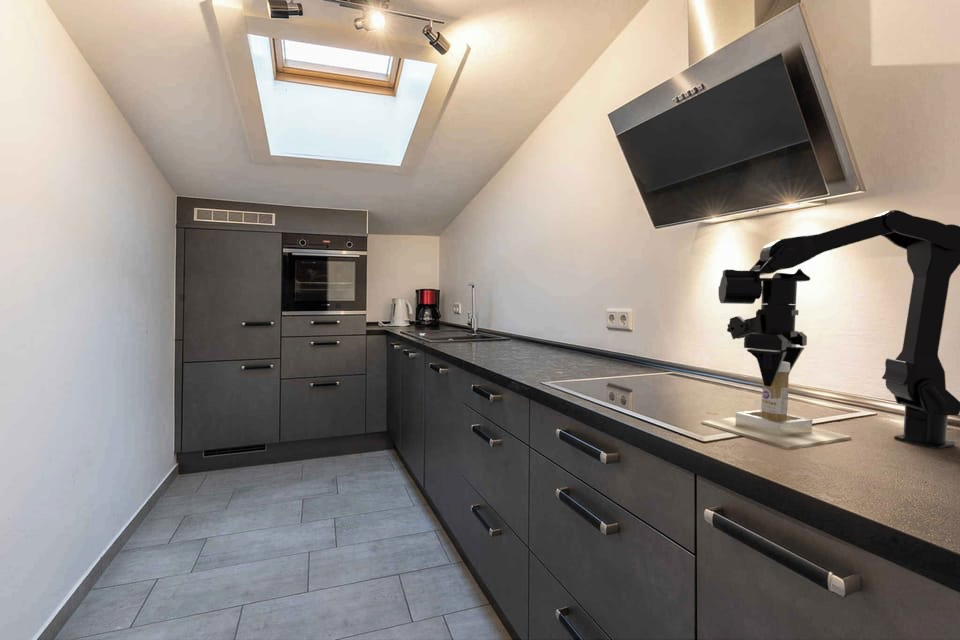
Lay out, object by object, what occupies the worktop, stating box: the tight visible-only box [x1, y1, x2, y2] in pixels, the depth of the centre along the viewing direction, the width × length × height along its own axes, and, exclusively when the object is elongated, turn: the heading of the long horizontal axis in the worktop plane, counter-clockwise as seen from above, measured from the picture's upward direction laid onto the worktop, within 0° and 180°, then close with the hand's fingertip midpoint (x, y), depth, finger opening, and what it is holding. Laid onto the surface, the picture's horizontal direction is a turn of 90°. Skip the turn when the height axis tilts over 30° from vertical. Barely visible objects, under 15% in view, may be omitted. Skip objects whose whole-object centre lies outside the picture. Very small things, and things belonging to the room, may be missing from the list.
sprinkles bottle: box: [760, 361, 791, 422], centre depth 91 cm, size 5×5×14 cm
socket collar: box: [735, 409, 813, 437], centre depth 91 cm, size 9×9×2 cm
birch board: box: [701, 416, 852, 451], centre depth 91 cm, size 18×18×1 cm
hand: (774, 383), depth 91 cm, fingers open, 9 cm apart
